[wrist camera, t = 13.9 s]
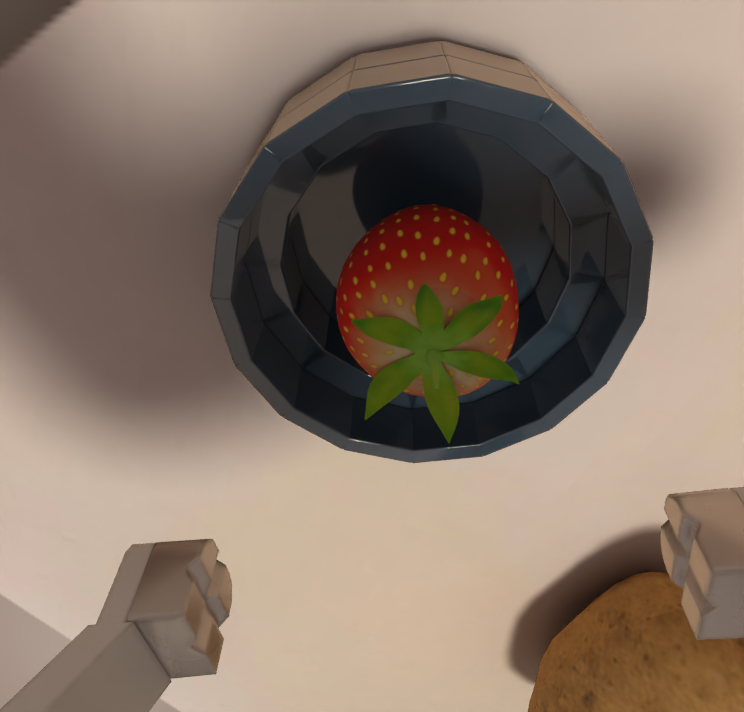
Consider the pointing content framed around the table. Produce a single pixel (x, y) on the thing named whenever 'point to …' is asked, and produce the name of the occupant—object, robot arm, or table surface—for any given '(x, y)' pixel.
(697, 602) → the robot arm
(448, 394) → the fruit
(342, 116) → the bowl
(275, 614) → the table surface
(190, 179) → the table surface
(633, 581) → the potato
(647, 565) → the table surface
